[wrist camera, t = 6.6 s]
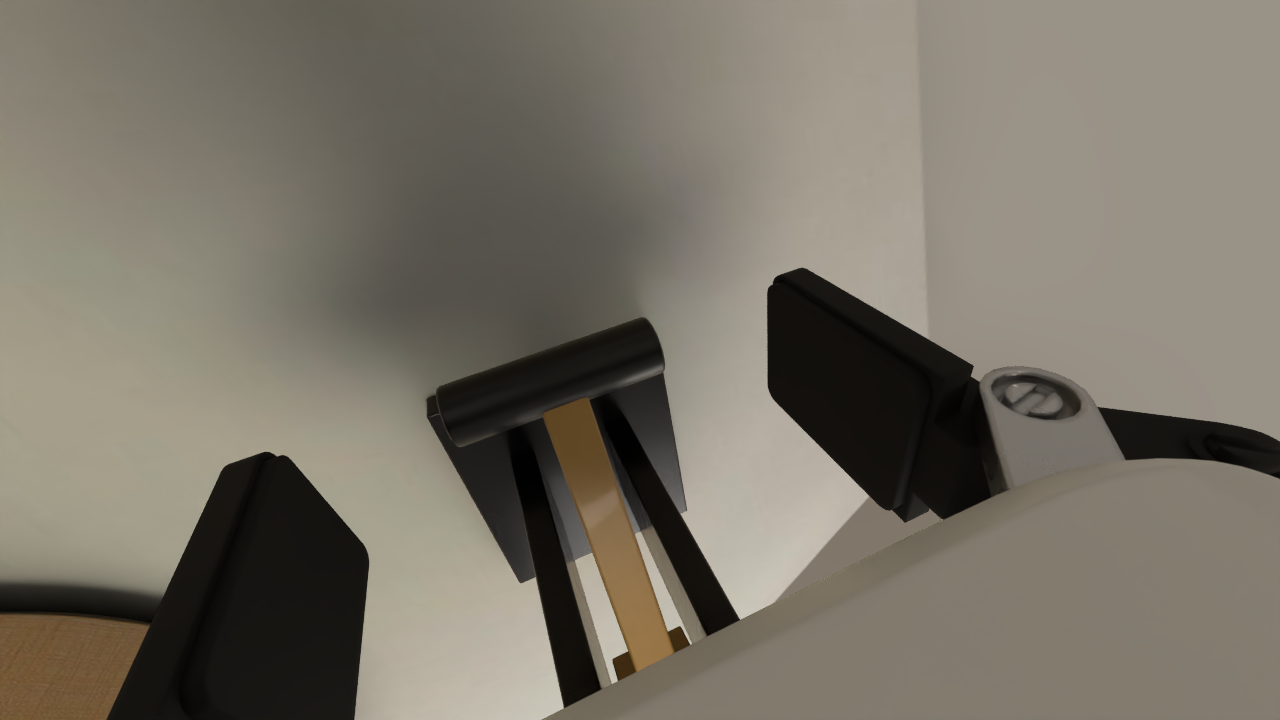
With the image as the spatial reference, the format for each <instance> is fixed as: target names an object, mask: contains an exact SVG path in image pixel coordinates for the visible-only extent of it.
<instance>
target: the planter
mask: <svg viewBox="0 0 1280 720" xmlns="http://www.w3.org/2000/svg"><path fill="white" fill-rule="evenodd" d="M150 624H151V623H150V622H143V621H137V620H130V619H123V618H116V617H109V616H101V615H92V614H82V613H68V612H0V720H106V719H107V717H108V715H109V713H110V711H111V708H112V706H113V704H114V702H115V700H116V698H117V695H118V693H119V691H120V689H121V687H122V685H123V683H124V680H125V678H126V676H127V674H128V672H129V670H130V667H131V665H132V663H133V661H134V659H135V657H136V654H137V652H138V650H139V648H140V646H141V644H142V642H143V639H144V637H145V635H146V633H147V631H148V629H149V626H150Z"/></svg>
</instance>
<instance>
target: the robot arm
mask: <svg viewBox="0 0 1280 720" xmlns="http://www.w3.org/2000/svg"><path fill="white" fill-rule="evenodd" d="M767 334H768V389H769V392H770V394H771V396H772V398H773V399H774V401H775V402H776V403H777V404H778V405H779V406H780V407H781V408H782V409H783V410H784V411H785V412H786V413H787V414H788V415H789V416H790V417H791V418H792V419H793V420H794V421H795V422H796V423H797V424H798V425H799V426H800V427H801V428H802V429H803V430H804V431H805V432H806V433H807V434H808V435H809V436H810V437H811V438H812V439H813V440H814V441H815V442H816V443H817V444H818V445H819V446H820V447H821V448H822V449H823V450H824V451H825V452H826V453H827V454H828V455H829V456H830V457H831V458H832V459H833V460H834V461H835V462H836V463H837V464H838V465H839V466H840V467H841V468H842V469H843V470H844V471H845V472H846V473H847V474H848V475H849V476H850V477H851V478H852V479H853V480H854V481H855V482H856V483H857V484H858V485H859V486H860V487H861V488H862V489H863V490H864V491H865V492H866V493H867V494H868V495H869V496H870V497H871V498H872V499H873V500H874V501H875V502H876V503H877V504H878V505H879V506H881V507H882V508H883V509H885V510H889V511H890V510H893V511H894V512H895V513H896V514H897V515H898V516H899V517H900V518H901V519H902V520H903V521H904V522H907V521H910V520H912V519H914V518H916V517H918V516H920V515H922V514H924V513H926V512H928V511H929V508H930V509H931V510H932V511H933V512H934V513H936V514H937V515H938V516H939V517H940V522H938V523H936V524H934V525H932V526H930V527H928V528H926V529H924V530H921V531H919V532H917V533H915V534H913V535H911V536H909V537H907V538H905V539H903V540H901V541H899V542H897V543H895V544H893V545H891V546H889V547H887V548H885V549H883V550H881V551H879V552H877V553H875V554H873V555H871V556H868V557H867V558H864V559H863V560H860V561H858V562H856V563H854V564H852V565H850V566H848V567H846V568H844V569H842V570H840V571H838V572H836V573H834V574H832V575H830V576H828V577H826V578H824V579H822V580H820V581H818V582H816V583H814V584H812V585H810V586H808V587H806V588H804V589H802V590H800V591H798V592H796V593H794V594H792V595H790V596H788V597H786V598H784V599H782V600H779V601H777V602H775V603H773V604H771V605H769V606H767V607H765V608H763V609H761V610H759V611H757V612H755V613H753V614H751V615H749V616H747V617H745V618H743V619H741V620H739V621H737V622H735V623H733V624H731V625H729V626H727V627H725V628H723V629H721V630H719V631H717V632H715V633H713V634H711V635H709V636H707V637H705V638H703V639H701V640H699V641H697V642H695V643H693V644H691V645H689V646H687V647H685V648H683V649H681V650H679V651H677V652H675V653H673V654H671V655H669V656H667V657H666V658H664V659H662V660H660V661H658V662H656V663H654V664H652V665H650V666H648V667H646V668H644V669H642V670H640V671H638V672H636V673H634V674H632V675H630V676H628V677H626V678H624V679H622V680H620V681H618V682H616V683H614V684H612V685H610V686H608V687H606V688H604V689H602V690H600V691H598V692H596V693H594V694H592V695H590V696H588V697H586V698H584V699H582V700H580V701H578V702H576V703H574V704H572V705H570V706H568V707H566V708H564V709H562V710H560V711H558V712H556V713H554V714H552V715H550V716H548V717H546V718H544V719H542V720H1280V441H1278V440H1276V439H1274V438H1272V437H1270V436H1268V435H1266V434H1264V433H1261V432H1258V431H1255V430H1251V429H1247V428H1243V427H1239V426H1234V425H1229V424H1224V423H1218V422H1210V421H1203V420H1195V419H1187V418H1179V417H1172V416H1164V415H1156V414H1148V413H1140V412H1132V411H1124V410H1116V409H1109V408H1100V407H1097V406H1096V404H1095V402H1094V400H1093V399H1092V398H1091V396H1090V395H1089V394H1088V393H1087V392H1086V390H1085V389H1083V388H1082V387H1080V386H1079V385H1078V384H1076V383H1075V382H1073V381H1072V380H1070V379H1067V378H1065V377H1063V376H1061V375H1059V374H1056V373H1053V372H1049V371H1046V370H1042V369H1038V368H1031V367H1024V366H1015V367H1003V368H999V369H994V370H992V371H991V372H989V373H987V374H985V375H984V377H983V378H982V380H981V381H980V382H979V381H977V380H976V379H974V378H972V377H971V373H972V370H973V367H974V366H973V365H971V364H970V363H968V362H966V361H965V360H963V359H961V358H959V357H958V356H956V355H954V354H953V353H951V352H949V351H947V350H946V349H944V348H942V347H940V346H939V345H937V344H935V343H934V342H932V341H930V340H928V339H927V338H925V337H923V336H921V335H920V334H918V333H916V332H915V331H913V330H911V329H909V328H908V327H906V326H904V325H902V324H901V323H899V322H897V321H896V320H894V319H892V318H890V317H889V316H887V315H885V314H883V313H882V312H880V311H878V310H877V309H875V308H873V307H871V306H870V305H868V304H866V303H864V302H863V301H861V300H859V299H858V298H856V297H854V296H852V295H851V294H849V293H847V292H845V291H844V290H842V289H840V288H839V287H837V286H835V285H833V284H832V283H830V282H828V281H826V280H825V279H823V278H821V277H820V276H818V275H816V274H814V273H813V272H811V271H809V270H808V269H805V268H799V269H796V270H793V271H790V272H787V273H784V274H781V275H778V276H777V277H775V279H774V281H773V285H771V286H770V287H769V288H768V292H767ZM368 571H369V557H368V553H367V550H366V548H365V546H364V545H363V543H362V542H361V541H360V540H359V539H358V537H357V536H356V535H355V534H354V533H353V532H352V530H351V529H350V528H349V527H348V526H347V525H346V523H345V522H344V521H343V520H342V519H341V518H340V516H339V515H338V514H337V513H336V512H335V511H334V509H333V508H332V507H331V506H330V505H329V504H328V502H327V501H326V500H325V499H324V498H323V497H322V495H321V494H320V493H319V492H318V491H317V490H316V488H315V487H314V486H313V485H312V484H311V483H310V481H309V480H308V479H307V478H306V477H305V476H304V474H303V473H302V472H301V471H300V470H299V469H298V467H297V466H296V465H295V464H294V463H293V462H292V460H291V459H289V458H288V457H287V456H285V455H280V456H278V457H277V456H275V455H274V454H272V453H270V452H263V453H260V454H257V455H254V456H251V457H248V458H245V459H242V460H240V461H237V462H234V463H231V464H228V465H227V466H225V467H224V468H223V470H222V471H221V473H220V475H219V478H218V480H217V482H216V484H215V486H214V488H213V490H212V493H211V495H210V497H209V499H208V501H207V503H206V506H205V508H204V510H203V512H202V514H201V516H200V519H199V521H198V523H197V525H196V527H195V529H194V531H193V534H192V536H191V538H190V540H189V542H188V544H187V547H186V549H185V551H184V553H183V555H182V557H181V560H180V562H179V564H178V566H177V568H176V570H175V572H174V575H173V577H172V579H171V581H170V583H169V585H168V588H167V590H166V592H165V594H164V596H163V598H162V601H161V603H160V605H159V607H158V609H157V611H156V613H155V616H154V618H153V620H152V622H151V624H150V626H149V629H148V631H147V633H146V635H145V637H144V639H143V642H142V644H141V646H140V648H139V650H138V652H137V654H136V657H135V659H134V661H133V663H132V665H131V667H130V670H129V672H128V674H127V676H126V678H125V680H124V683H123V685H122V687H121V689H120V691H119V693H118V695H117V698H116V700H115V702H114V704H113V706H112V708H111V711H110V713H109V715H108V717H107V719H106V720H354V716H355V706H356V696H357V685H358V675H359V664H360V654H361V644H362V633H363V623H364V612H365V602H366V592H367V581H368Z"/></svg>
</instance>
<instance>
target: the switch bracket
mask: <svg viewBox="0 0 1280 720" xmlns="http://www.w3.org/2000/svg"><path fill="white" fill-rule="evenodd" d="M589 401H590V404H591V407H592V410H593V413H594V416H595V419H596V422H597V425H598V428H599V431H600V434H601V437H602V440H603V443H604V446H605V449H606V452H607V455H608V457H609V460H610V463H611V466H612V469H613V472H614V475H615V478H616V481H617V484H618V487H619V490H620V493H621V496H622V499H623V502H624V505H625V508H626V510H627V513H628V516H629V519H630V522H631V525H632V528H633V531H634V534H635V533H637V532H640V531H641V533H642V535H643V537H644V539H645V541H646V544H647V546H648V548H649V550H650V552H651V555H652V557H653V559H654V561H655V563H656V565H657V568H658V570H659V572H660V574H661V576H662V579H663V581H664V583H665V585H666V587H667V589H668V592H669V594H670V596H671V598H672V600H673V603H674V605H675V607H676V609H677V611H678V613H679V616H680V618H681V620H682V622H683V624H684V627H685V629H686V631H687V633H688V635H689V637H690V640H691V642H692V644H693V643H695V642H697V641H699V640H701V639H703V638H705V637H707V636H709V635H711V634H713V633H715V632H717V631H719V630H721V629H723V628H725V627H727V626H729V625H731V624H733V623H735V622H737V621H739V620H740V619H739V617H738V615H737V614H736V612H735V610H734V608H733V607H732V605H731V603H730V601H729V599H728V598H727V596H726V594H725V592H724V591H723V589H722V587H721V585H720V583H719V582H718V580H717V578H716V576H715V575H714V573H713V571H712V569H711V567H710V566H709V564H708V562H707V560H706V559H705V557H704V555H703V553H702V551H701V550H700V548H699V546H698V544H697V543H696V541H695V539H694V537H693V535H692V534H691V532H690V530H689V528H688V527H687V525H686V523H685V521H684V520H683V518H682V516H681V513H683V512H685V511H687V507H686V501H685V495H684V489H683V484H682V478H681V472H680V466H679V460H678V455H677V449H676V443H675V437H674V431H673V426H672V420H671V414H670V408H669V403H668V397H667V391H666V385H665V379H664V374H663V372H662V373H661V374H658V375H656V376H653V377H650V378H647V379H645V380H642V381H639V382H637V383H634V384H631V385H629V386H626V387H623V388H620V389H618V390H615V391H612V392H610V393H607V394H604V395H602V396H599V397H596V398H593V399H591V400H589ZM427 418H428V420H429V422H430V424H431V426H432V427H433V429H434V431H435V433H436V434H437V436H438V438H439V440H440V442H441V443H442V445H443V447H444V449H445V451H446V452H447V454H448V456H449V458H450V459H451V461H452V463H453V465H454V467H455V468H456V470H457V472H458V474H459V475H460V477H461V479H462V481H463V483H464V484H465V486H466V488H467V490H468V491H469V493H470V495H471V497H472V499H473V500H474V502H475V504H476V506H477V508H478V509H479V511H480V513H481V515H482V516H483V518H484V520H485V522H486V524H487V525H488V527H489V529H490V531H491V532H492V534H493V536H494V538H495V540H496V541H497V543H498V545H499V547H500V548H501V550H502V552H503V554H504V556H505V557H506V559H507V561H508V563H509V565H510V566H511V568H512V570H513V572H514V573H515V575H516V577H517V579H518V581H519V582H520V583H523V582H525V581H528V580H530V579H532V578H534V577H536V580H537V585H538V590H539V594H540V599H541V603H542V608H543V613H544V617H545V622H546V627H547V631H548V636H549V641H550V645H551V650H552V655H553V659H554V664H555V669H556V673H557V678H558V682H559V687H560V692H561V696H562V701H563V706H564V708H566V707H568V706H570V705H572V704H574V703H576V702H578V701H580V700H582V699H584V698H586V697H588V696H590V695H592V694H594V693H596V692H598V691H600V690H602V689H604V688H606V687H608V686H610V685H612V684H611V680H610V677H609V674H608V670H607V667H606V664H605V660H604V657H603V654H602V650H601V647H600V644H599V640H598V637H597V634H596V630H595V627H594V624H593V620H592V617H591V614H590V610H589V607H588V604H587V600H586V597H585V594H584V590H583V587H582V584H581V580H580V577H579V574H578V570H577V567H576V564H575V560H576V559H578V558H580V557H582V556H585V555H587V554H589V553H592V550H591V547H590V545H589V542H588V539H587V536H586V534H585V531H584V528H583V525H582V523H581V520H580V517H579V514H578V512H577V509H576V506H575V504H574V501H573V498H572V495H571V493H570V490H569V487H568V484H567V482H566V479H565V476H564V473H563V471H562V468H561V465H560V462H559V460H558V457H557V454H556V451H555V449H554V446H553V443H552V441H551V438H550V435H549V432H548V430H547V427H546V424H545V421H544V419H543V417H542V418H539V419H537V420H534V421H531V422H528V423H526V424H523V425H520V426H518V427H515V428H512V429H510V430H507V431H504V432H501V433H499V434H496V435H493V436H491V437H488V438H485V439H483V440H480V441H477V442H474V443H472V444H469V445H466V446H464V447H457V446H456V445H455V444H454V442H453V441H452V440H451V438H450V436H449V435H448V433H447V431H446V428H445V426H444V424H443V421H442V418H441V415H440V412H439V409H438V405H437V399H436V396H434V397H431V398H428V399H427Z"/></svg>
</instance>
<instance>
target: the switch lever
mask: <svg viewBox="0 0 1280 720" xmlns="http://www.w3.org/2000/svg"><path fill="white" fill-rule="evenodd" d="M664 369H665V361H664V354H663V350H662V347H661V344H660V341H659V338H658V336H657V334H656V332H655V330H654V328H653V326H652V325H651V323H650V322H649V321H648V320H647V319H646V318H643V317H641V318H638V319H635V320H632V321H629V322H626V323H623V324H621V325H618V326H615V327H612V328H609V329H606V330H603V331H600V332H597V333H594V334H591V335H588V336H585V337H582V338H579V339H577V340H574V341H571V342H568V343H565V344H562V345H559V346H556V347H553V348H550V349H547V350H544V351H541V352H538V353H535V354H533V355H530V356H527V357H524V358H521V359H518V360H515V361H512V362H509V363H506V364H503V365H500V366H497V367H494V368H491V369H489V370H486V371H483V372H480V373H477V374H474V375H471V376H468V377H465V378H462V379H459V380H456V381H453V382H450V383H447V384H445V385H442V386H439V387H438V388H437V390H436V399H437V405H438V409H439V412H440V415H441V418H442V421H443V424H444V426H445V428H446V431H447V433H448V435H449V436H450V438H451V440H452V441H453V442H454V444H455V445H456V446H457V447H464V446H466V445H469V444H472V443H474V442H477V441H480V440H483V439H485V438H488V437H491V436H493V435H496V434H499V433H501V432H504V431H507V430H510V429H512V428H515V427H518V426H520V425H523V424H526V423H528V422H531V421H534V420H537V419H539V418H542V417H543V419H544V421H545V424H546V427H547V430H548V432H549V435H550V438H551V441H552V443H553V446H554V449H555V451H556V454H557V457H558V460H559V462H560V465H561V468H562V471H563V473H564V476H565V479H566V482H567V484H568V487H569V490H570V493H571V495H572V498H573V501H574V504H575V506H576V509H577V512H578V514H579V517H580V520H581V523H582V525H583V528H584V531H585V534H586V536H587V539H588V542H589V545H590V547H591V550H592V553H593V556H594V558H595V561H596V564H597V566H598V569H599V572H600V575H601V577H602V580H603V583H604V586H605V588H606V591H607V594H608V597H609V599H610V602H611V605H612V608H613V610H614V613H615V616H616V618H617V621H618V624H619V627H620V629H621V632H622V635H623V638H624V640H625V643H626V646H627V649H628V652H626V653H624V654H622V655H620V656H618V657H616V658H614V659H613V665H614V668H615V672H616V675H617V679H618V681H620V680H622V679H624V678H626V677H628V676H630V675H632V674H634V673H636V672H638V671H640V670H642V669H644V668H646V667H648V666H650V665H652V664H654V663H656V662H658V661H660V660H662V659H664V658H666V657H667V656H669V655H671V654H673V653H675V652H677V651H679V650H681V649H683V648H685V647H687V646H689V645H690V644H689V642H688V640H687V638H686V636H685V634H684V632H683V630H682V628H681V627H680V626H679V627H677V628H675V629H673V630H671V631H669V632H668V631H667V628H666V625H665V622H664V619H663V617H662V614H661V611H660V608H659V605H658V602H657V599H656V596H655V593H654V590H653V587H652V584H651V581H650V578H649V575H648V572H647V569H646V566H645V563H644V561H643V558H642V555H641V552H640V549H639V546H638V543H637V540H636V537H635V534H634V531H633V528H632V525H631V522H630V519H629V516H628V513H627V510H626V508H625V505H624V502H623V499H622V496H621V493H620V490H619V487H618V484H617V481H616V478H615V475H614V472H613V469H612V466H611V463H610V460H609V457H608V455H607V452H606V449H605V446H604V443H603V440H602V437H601V434H600V431H599V428H598V425H597V422H596V419H595V416H594V413H593V410H592V407H591V404H590V401H589V400H591V399H593V398H596V397H599V396H602V395H604V394H607V393H610V392H612V391H615V390H618V389H620V388H623V387H626V386H629V385H631V384H634V383H637V382H639V381H642V380H645V379H647V378H650V377H653V376H656V375H658V374H661V373H662V372H663V371H664Z"/></svg>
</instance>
